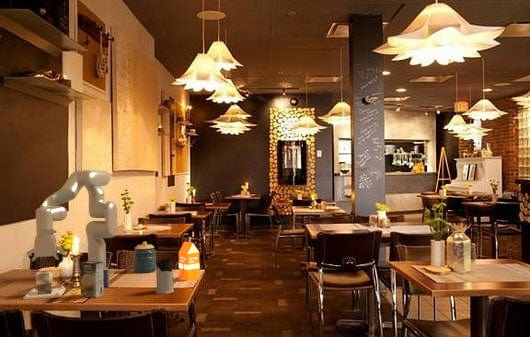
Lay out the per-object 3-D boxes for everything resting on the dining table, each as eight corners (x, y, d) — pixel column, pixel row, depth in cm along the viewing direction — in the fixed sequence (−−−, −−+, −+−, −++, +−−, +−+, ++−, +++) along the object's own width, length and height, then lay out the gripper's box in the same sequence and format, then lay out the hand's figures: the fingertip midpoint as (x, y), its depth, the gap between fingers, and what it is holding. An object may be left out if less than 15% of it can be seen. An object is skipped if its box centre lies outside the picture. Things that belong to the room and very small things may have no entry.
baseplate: (65, 290, 267) (65, 286, 267) (59, 297, 251) (59, 293, 251) (31, 292, 264) (31, 288, 264) (23, 299, 248) (23, 295, 248)
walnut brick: (52, 290, 262) (52, 280, 262) (51, 293, 255) (50, 283, 255) (39, 291, 261) (39, 281, 261) (37, 294, 253) (37, 284, 253)
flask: (110, 286, 274) (110, 265, 274) (106, 287, 271) (106, 266, 271) (96, 285, 277) (95, 264, 277) (92, 286, 275) (91, 265, 275)
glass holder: (154, 290, 261) (153, 260, 261) (182, 287, 267) (181, 257, 267) (157, 294, 253) (157, 262, 253) (187, 291, 259) (186, 260, 259)
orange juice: (187, 281, 282) (187, 243, 282) (178, 278, 289) (178, 242, 289) (200, 279, 287) (199, 242, 287) (191, 276, 294) (190, 240, 294)
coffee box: (79, 296, 252) (79, 262, 252) (88, 293, 258) (87, 260, 258) (96, 297, 249) (95, 263, 249) (104, 294, 255) (103, 261, 255)
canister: (138, 269, 321) (138, 240, 321) (159, 269, 319) (158, 239, 319) (130, 273, 308) (129, 242, 308) (151, 273, 306) (151, 242, 306)
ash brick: (52, 280, 262) (52, 270, 262) (49, 283, 254) (49, 273, 254) (39, 281, 260) (39, 271, 260) (36, 284, 253) (35, 274, 253)
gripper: (64, 231, 265) (66, 265, 265) (27, 233, 262) (29, 267, 262) (62, 233, 258) (63, 268, 258) (24, 235, 254) (25, 270, 254)
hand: (46, 268), depth 260 cm, fingers open, 9 cm apart
